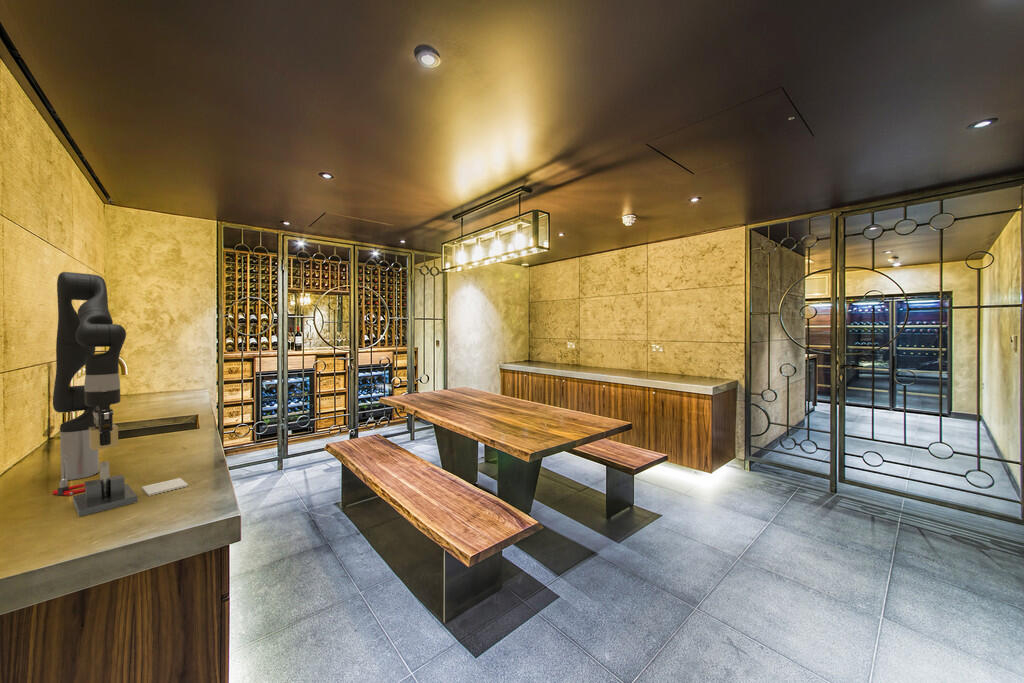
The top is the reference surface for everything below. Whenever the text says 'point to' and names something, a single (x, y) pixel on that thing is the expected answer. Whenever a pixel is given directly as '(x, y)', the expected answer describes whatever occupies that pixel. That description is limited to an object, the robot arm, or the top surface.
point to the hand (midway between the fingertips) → (103, 443)
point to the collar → (95, 437)
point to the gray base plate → (104, 493)
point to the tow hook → (66, 482)
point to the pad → (164, 486)
